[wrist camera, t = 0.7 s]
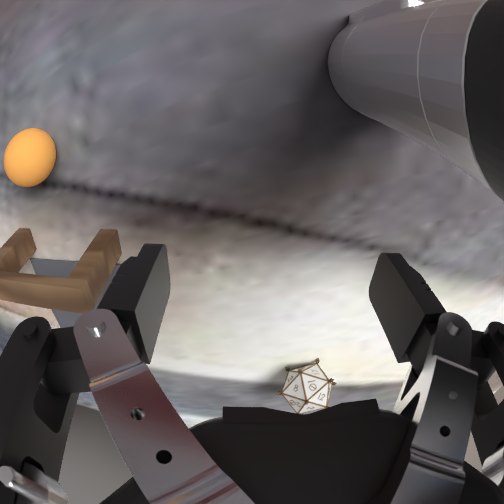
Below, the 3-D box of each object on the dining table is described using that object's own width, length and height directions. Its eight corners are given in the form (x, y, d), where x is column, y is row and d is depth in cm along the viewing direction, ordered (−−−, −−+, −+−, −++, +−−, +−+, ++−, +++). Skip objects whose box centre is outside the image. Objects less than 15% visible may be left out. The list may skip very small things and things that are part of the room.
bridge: (19, 228, 28) (-23, 275, 20) (116, 229, 29) (81, 289, 21) (25, 248, 30) (-12, 296, 22) (121, 253, 31) (91, 314, 23)
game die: (296, 355, 48) (275, 410, 44) (285, 344, 41) (259, 408, 37) (347, 369, 44) (326, 426, 40) (345, 360, 37) (320, 429, 33)
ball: (23, 126, 21) (-12, 143, 17) (63, 118, 22) (29, 133, 17) (30, 175, 25) (0, 198, 20) (69, 171, 25) (40, 195, 20)
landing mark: (30, 258, 31) (30, 259, 30) (121, 264, 31) (121, 265, 31) (63, 330, 39) (62, 331, 38) (143, 342, 39) (142, 343, 39)
